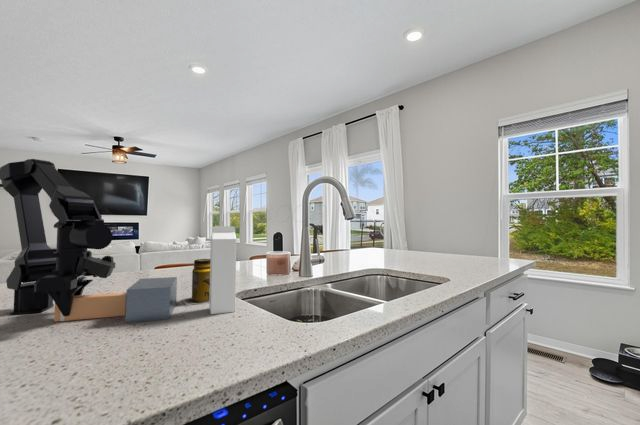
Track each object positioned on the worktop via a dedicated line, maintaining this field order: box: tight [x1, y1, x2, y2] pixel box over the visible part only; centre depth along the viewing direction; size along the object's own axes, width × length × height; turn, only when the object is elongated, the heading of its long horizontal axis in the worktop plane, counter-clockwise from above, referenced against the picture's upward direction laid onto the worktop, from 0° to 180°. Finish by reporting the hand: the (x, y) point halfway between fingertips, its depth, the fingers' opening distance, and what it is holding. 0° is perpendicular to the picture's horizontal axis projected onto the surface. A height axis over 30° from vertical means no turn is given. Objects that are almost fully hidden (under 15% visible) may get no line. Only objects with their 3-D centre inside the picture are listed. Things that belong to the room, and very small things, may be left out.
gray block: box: [125, 276, 178, 324], centre depth 77 cm, size 10×14×8 cm
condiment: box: [181, 258, 210, 306], centre depth 89 cm, size 7×8×12 cm
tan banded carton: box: [53, 291, 127, 323], centre depth 73 cm, size 14×3×5 cm, turn 110°
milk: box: [208, 225, 237, 315], centre depth 80 cm, size 6×6×22 cm
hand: (69, 313), depth 72 cm, fingers closed on tan banded carton, 3 cm apart
